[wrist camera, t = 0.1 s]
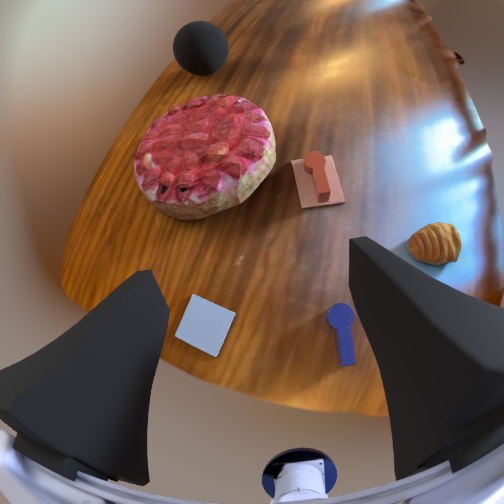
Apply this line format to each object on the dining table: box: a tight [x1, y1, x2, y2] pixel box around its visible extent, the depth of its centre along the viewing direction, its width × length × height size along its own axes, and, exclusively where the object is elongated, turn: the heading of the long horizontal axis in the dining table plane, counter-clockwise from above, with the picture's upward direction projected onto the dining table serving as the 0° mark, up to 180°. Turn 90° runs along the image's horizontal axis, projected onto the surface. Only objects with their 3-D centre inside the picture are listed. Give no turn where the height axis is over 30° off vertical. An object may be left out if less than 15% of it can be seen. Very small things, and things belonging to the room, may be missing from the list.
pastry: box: [407, 222, 461, 265], centre depth 35 cm, size 9×7×4 cm
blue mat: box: [175, 294, 236, 357], centre depth 38 cm, size 7×7×1 cm
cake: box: [134, 94, 276, 220], centre depth 43 cm, size 25×25×8 cm
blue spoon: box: [326, 303, 355, 367], centre depth 34 cm, size 8×4×3 cm, turn 6°
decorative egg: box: [173, 21, 229, 75], centre depth 48 cm, size 12×12×15 cm
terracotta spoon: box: [303, 151, 331, 202], centre depth 41 cm, size 8×4×3 cm, turn 6°
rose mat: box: [291, 156, 345, 209], centre depth 42 cm, size 9×7×1 cm
